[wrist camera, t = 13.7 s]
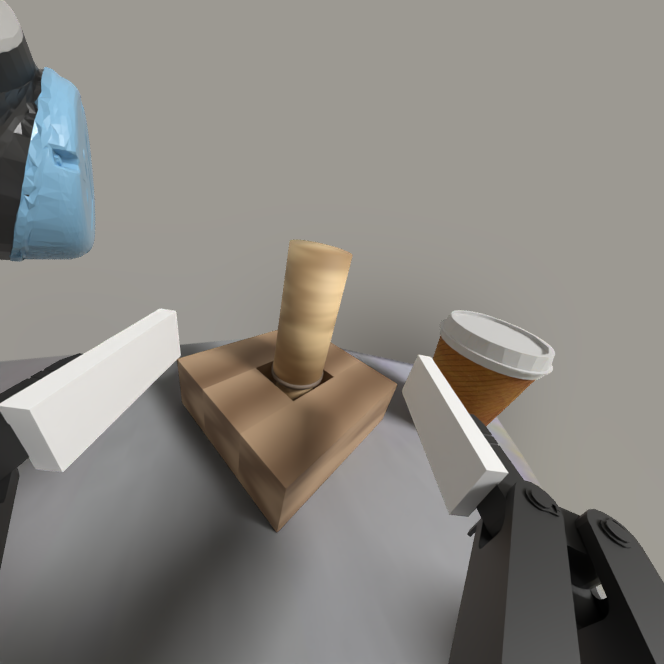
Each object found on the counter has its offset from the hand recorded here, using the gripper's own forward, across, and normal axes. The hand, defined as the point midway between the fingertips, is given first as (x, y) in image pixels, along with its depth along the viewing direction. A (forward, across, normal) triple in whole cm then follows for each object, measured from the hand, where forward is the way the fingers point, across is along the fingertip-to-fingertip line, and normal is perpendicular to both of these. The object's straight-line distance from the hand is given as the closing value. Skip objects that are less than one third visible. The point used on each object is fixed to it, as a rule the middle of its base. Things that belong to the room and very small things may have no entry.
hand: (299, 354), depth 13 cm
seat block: (+6, 0, -11) cm, 13 cm away
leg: (+6, 0, -11) cm, 13 cm away
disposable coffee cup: (+8, +17, -11) cm, 22 cm away
